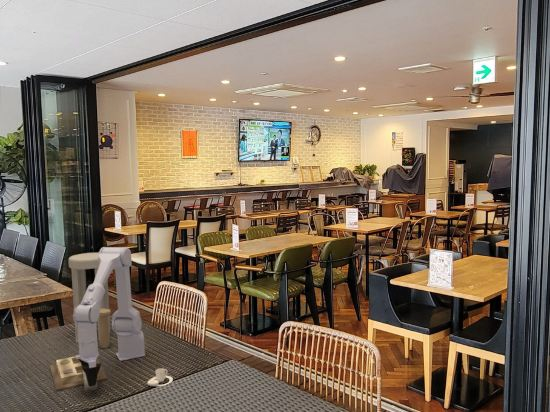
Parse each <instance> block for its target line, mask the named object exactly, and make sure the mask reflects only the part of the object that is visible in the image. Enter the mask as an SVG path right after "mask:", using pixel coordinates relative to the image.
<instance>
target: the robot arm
mask: <svg viewBox="0 0 550 412" xmlns="http://www.w3.org/2000/svg"><path fill="white" fill-rule="evenodd" d="M98 253H99V255H98V260H99V267H98V270H97V274H96V277H95V276H94V281H93V283H91V284H89V285H88V286H87V287H86V293H85V295H84V297H83V300H82V302H81V304H80V305H79V306H77V307H76V308H75V310H74V309H73V315H72V319H73V321H74V324H75V323H76V328H78V342H77V343H78V353H79V354H75V356H74V357H75V358H76V359H79V361H80V362H81V365H82V369H83V371H84V372H85V374H86V378H87V382H88V385H89V387H90V386H94V385H96V382H97V375H98V372H99V369H100V368H101V367H102V364H101V362H99V364H96V359H98V358H99V356H100V352H99V348H98V347H99V346H98V343H99V342H98V324H97V322H96V321H97V320H98V318H99V315H100V303H101V301H102V298H103V296H104V293H105V289H104V285H105V283H106V281H107V279H109V278H110V275H111V274H112V271H113V270H114V274H115V286H116V287H115V290H116V299H117V310H116V311H114V312H113V314H112V321H111V329H112V331H113V332H114V333H115V335H117V350H118V352H115V355H116V357H117V358H118V361H120V362H122V361H126V360H131V359H132V360H133V359H137V358H140V357H141V358H142V357H145V356H146V351H145V349H146V347H145V337H144V336H145V335H144V332H143V331H142V330H141V329H142V326H143V325H142V324H143V321H142V318H141V314H140V311H138V309H136V308H135V307H133V303H132V287H131V274H130V272H131V271H130V267H132V263H133V262H132V261H133V260H132V252H131V250H130V249H129V247H125V246H124V247H116V246H115V247H111V246H109V247H106V246H103V247H101V248H100V249H99V251H98ZM97 383H98V382H97Z"/></svg>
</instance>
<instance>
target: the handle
mask: <svg viewBox="0 0 550 412" xmlns="http://www.w3.org/2000/svg"><path fill="white" fill-rule="evenodd" d="M111 313H112V311H111V309H110V308H109V309H100V315H99V337H100V341H99V344H100V347H101V349H107V348H110V341H111V340H110V339H111V338H110V337H111V334H110V332H111V330H110V331H109V323H108V315H109V316H110V315H111ZM99 337H98V338H99Z"/></svg>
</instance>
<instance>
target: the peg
mask: <svg viewBox="0 0 550 412" xmlns="http://www.w3.org/2000/svg"><path fill="white" fill-rule="evenodd" d="M83 378H84V385H83V391H84V392H89V393H90V392H94V391H96V390H97V389H98V382H96V385H94V386H90V387H89V385H88V382H87V378H86V374H85V372H84V371H83Z"/></svg>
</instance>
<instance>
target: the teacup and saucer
mask: <svg viewBox="0 0 550 412" xmlns="http://www.w3.org/2000/svg"><path fill="white" fill-rule="evenodd" d="M166 378H167V379H168V380H169V381H168V382H166V383H164V384H159V383H163V382H164V381H165V379H166ZM173 380H174V379H173V377H172V376H170V375H168V370H167V369H165V368H157V369H155V376H154V377H151V378H150V379H149V380H148V381H147V385H148V386H150V387H163V386H167V384H168V385H170V384H171V383H172V382H173ZM169 383H170V384H169Z"/></svg>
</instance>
